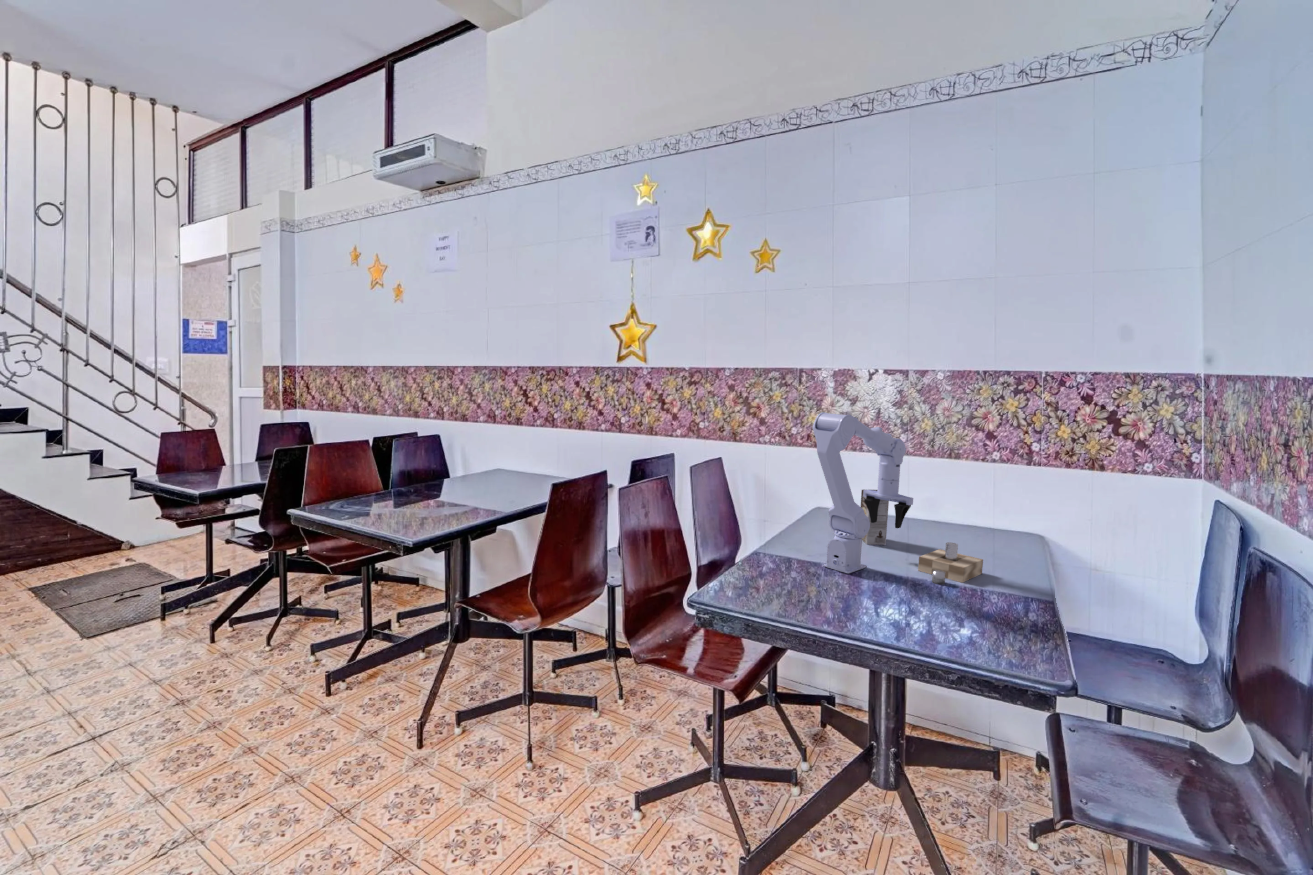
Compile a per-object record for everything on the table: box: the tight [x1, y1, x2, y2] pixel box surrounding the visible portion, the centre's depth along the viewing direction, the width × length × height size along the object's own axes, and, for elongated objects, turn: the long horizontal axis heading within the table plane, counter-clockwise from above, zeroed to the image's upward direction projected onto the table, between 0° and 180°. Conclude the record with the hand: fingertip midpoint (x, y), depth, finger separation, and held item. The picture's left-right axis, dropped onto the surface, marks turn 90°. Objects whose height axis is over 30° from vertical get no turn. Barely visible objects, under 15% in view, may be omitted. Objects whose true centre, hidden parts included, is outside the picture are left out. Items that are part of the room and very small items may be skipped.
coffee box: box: [860, 489, 890, 546], centre depth 200 cm, size 9×6×16 cm
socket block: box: [917, 548, 984, 584], centre depth 171 cm, size 12×12×4 cm
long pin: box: [944, 541, 959, 562], centre depth 171 cm, size 3×3×8 cm
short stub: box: [931, 570, 946, 586], centre depth 163 cm, size 3×3×3 cm
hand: (885, 524), depth 182 cm, fingers open, 7 cm apart
